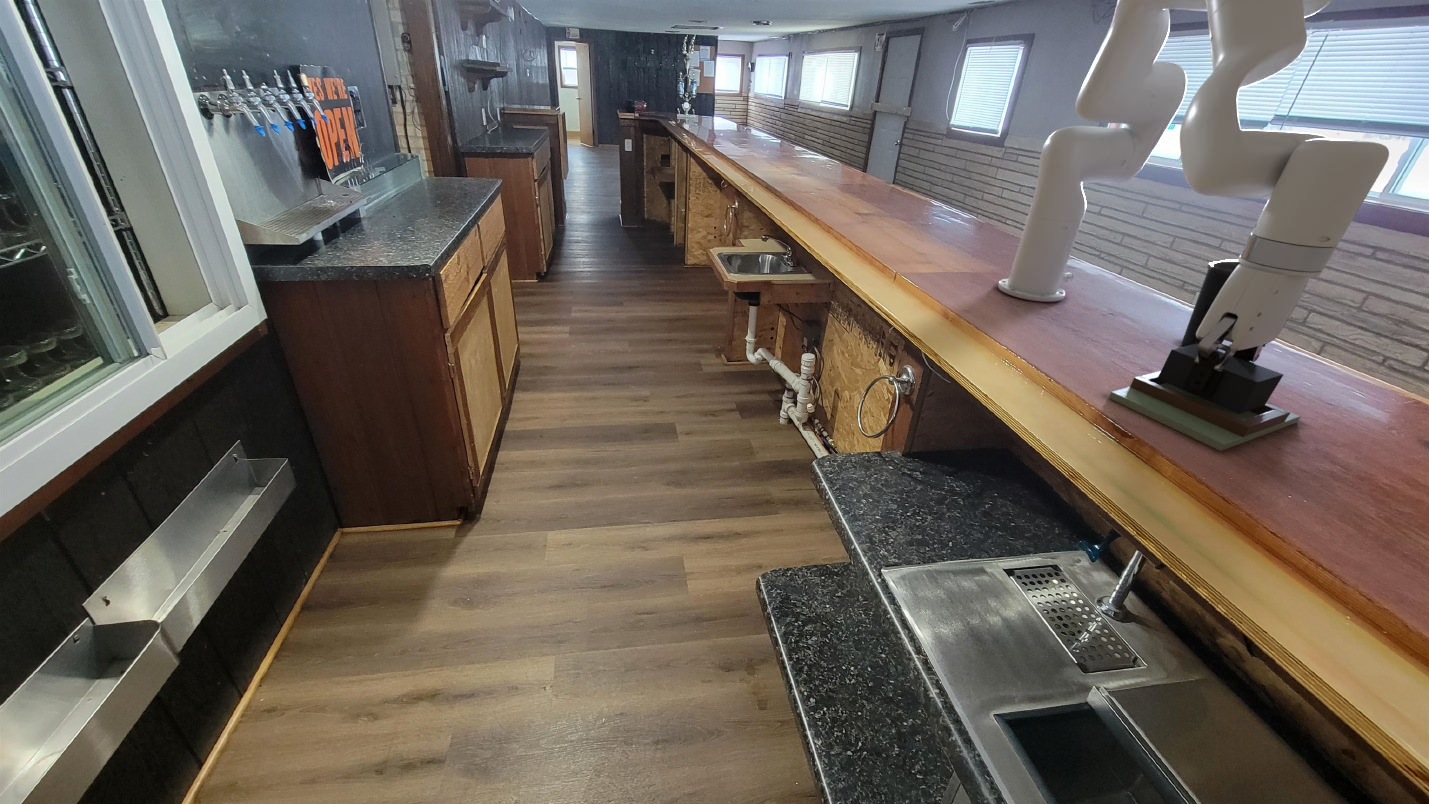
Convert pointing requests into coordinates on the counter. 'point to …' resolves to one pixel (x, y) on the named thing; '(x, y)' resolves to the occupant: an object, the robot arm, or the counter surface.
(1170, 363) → the black rectangular block
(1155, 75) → the robot arm
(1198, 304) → the drinking cup
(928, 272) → the counter surface
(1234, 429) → the rectangular tray
